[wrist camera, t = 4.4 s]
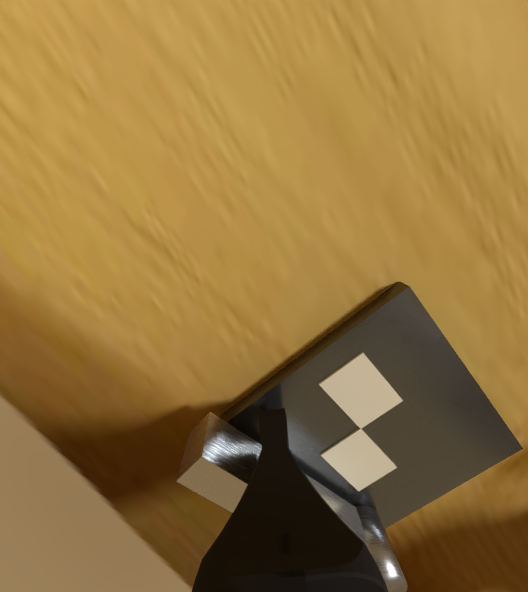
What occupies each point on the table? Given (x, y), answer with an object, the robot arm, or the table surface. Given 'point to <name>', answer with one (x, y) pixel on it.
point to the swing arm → (236, 475)
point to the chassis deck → (397, 421)
